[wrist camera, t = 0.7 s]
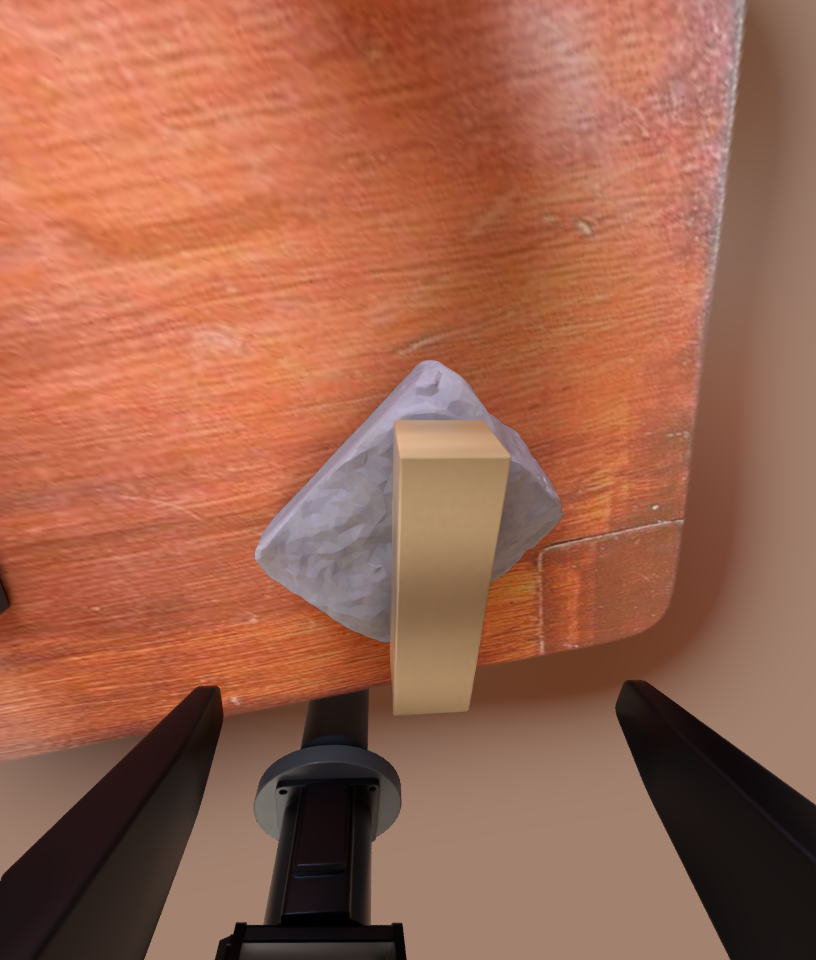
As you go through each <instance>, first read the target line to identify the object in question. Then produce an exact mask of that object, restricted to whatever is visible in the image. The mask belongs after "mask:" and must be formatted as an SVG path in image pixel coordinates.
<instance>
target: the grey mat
mask: <svg viewBox="0 0 816 960" xmlns="http://www.w3.org/2000/svg"><path fill="white" fill-rule="evenodd" d="M9 607H10V606H9V603H8V601H7V598H6V595H5V593H4V590H3V588H2V585H1V582H0V614H2V613H3V612H4V611H6V610H7V609H8V608H9Z"/></svg>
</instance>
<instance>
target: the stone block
mask: <svg viewBox="0 0 816 960" xmlns="http://www.w3.org/2000/svg"><path fill="white" fill-rule="evenodd" d="M395 420H483V421H484V422H485V423H486V424H487V426H488V427H489V428H490V430H491V431H492V432H493V433H494V435H495V436H496V437H497V439H498V440H499V441H500V442H501V444H502V445H503V446H504V448H505V449H506V450H507V451H508V453H509V454H510V455H511V464H510V470H509V475H508V481H507V487H506V493H505V499H504V505H503V511H502V517H501V523H500V529H499V535H498V541H497V547H496V552H495V558H494V564H493V570H492V576H491V582H492V581H494V580H496V579H498V578H499V577H500V576H501V575H503V574H504V573H506V572H508V571H509V570H510V569H511V567H512V566H513V565H515V564H516V563H517V562H518V561H519V560H520V559H521V557H522V556H523V554H524V553H525V551H527V550H528V549H530V548H534V547H535V546H536V545H537V544H538V543H539V542H540V541H541V540H542V539H543V538H544V537H545V536H546V535H547V534H548V533H549V532H550V531H551V530H552V529H553V528H554V527H555V526H556V525H557V524H558V523H559V521H560V519H561V518H562V517H563V512H562V503H561V501H560V499H559V497H558V495H557V494H556V490H555V488H554V486H553V485H552V483H551V481H550V480H549V478H548V477H547V475H546V474H545V473H544V471H543V470H542V468H541V467H540V465H539V463H538V461H537V460H536V459H535V458H534V457H533V456H532V455H531V453H530V451H529V448H528V446H527V445H526V443H525V442H524V441H523V440H522V439H521V437H520V435H519V433H518V432H516V431H515V430H513V429H512V428H510V427H508V426H507V425H505V424H503V423H502V422H500V421H499V419H498V418H496V417H495V416H493V415H491V414H489V413H488V412H487V410H486V408H485V407H484V405H483V404H482V403H481V401H480V400H479V399H478V397H477V396H476V394H475V392H474V390H473V388H472V387H471V386H470V385H469V384H468V383H467V382H466V381H465V380H464V379H463V378H462V377H461V375H459V374H457V373H455V372H454V371H453V370H451V369H449V368H448V367H446V366H444V365H443V364H442V363H440V362H438V361H433V360H426V361H422V362H420V363H419V364H418V365H416V366H415V367H414V369H413V370H412V371H411V372H410V373H409V374H408V375H407V376H406V377H405V378H404V379H403V380H402V381H401V382H400V384H399V385H398V386H397V387H396V388H395V389H394V390H393V391H392V392H391V393H390V394H389V396H388V397H387V398H386V399H385V400H384V401H383V402H382V403H381V404H380V405H379V406H378V407H377V408H376V409H375V410H374V412H373V413H372V414H371V415H370V416H369V417H368V418H367V419H366V420H365V421H364V422H363V424H362V425H361V426H360V427H359V428H358V429H357V430H356V431H355V432H354V433H353V434H352V435H351V436H350V437H349V438H348V439H347V440H346V441H345V442H344V443H343V445H342V446H341V447H340V448H339V449H338V450H337V451H336V452H335V453H334V454H333V455H332V456H331V457H330V458H329V460H328V461H327V462H326V463H325V464H324V465H323V466H322V467H321V469H320V470H319V471H318V472H317V473H316V474H315V475H314V476H313V477H312V478H311V479H310V480H309V482H308V483H307V484H306V485H305V486H304V487H303V488H302V489H301V490H300V491H299V492H298V493H297V494H296V495H295V496H294V497H293V498H292V499H291V500H290V502H288V503H287V504H286V505H285V506H284V507H283V509H282V510H281V511H280V512H279V513H278V514H277V515H276V516H275V517H274V519H273V520H272V521H271V522H270V524H269V525H268V527H267V528H266V529H265V531H264V532H263V534H262V535H261V539H260V542H259V544H258V546H257V548H256V550H255V559H256V561H257V563H258V564H259V565H260V567H261V568H262V569H263V570H264V571H265V572H266V574H267V575H268V576H269V577H270V578H271V579H273V580H274V581H276V582H278V583H281V584H282V585H283V586H284V587H286V588H287V589H288V590H289V591H291V592H293V593H295V594H297V595H299V596H301V597H302V598H304V599H305V600H306V601H307V602H309V603H310V604H312V605H314V606H315V607H317V608H318V609H320V610H321V611H322V612H324V613H326V614H327V615H329V616H330V617H331V618H333V619H334V620H335V621H337V622H339V623H340V624H341V625H343V626H345V627H346V628H348V629H350V630H352V631H354V632H357V633H360V634H362V635H365V636H366V637H369V638H372V639H375V640H377V641H380V642H384V643H387V642H390V614H391V557H392V499H393V441H394V421H395ZM491 582H490V585H491Z"/></svg>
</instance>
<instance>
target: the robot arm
mask: <svg viewBox="0 0 816 960" xmlns="http://www.w3.org/2000/svg"><path fill="white" fill-rule="evenodd" d="M615 709H616V715H617V718H618V721H619V723H620V726H621V728H622V731H623V733H624V736H625V738H626V741H627V743H628V745H629V748H630V751H631V753H632V756H633V758H634V761H635V763H636V766H637V768H638V771H639V773H640V776H641V778H642V781H643V783H644V785H645V788H646V790H647V792H648V794H649V796H650V799H651V801H652V803H653V805H654V807H655V809H656V811H657V813H658V815H659V817H660V819H661V821H662V823H663V825H664V827H665V829H666V831H667V833H668V835H669V837H670V839H671V841H672V843H673V845H674V847H675V849H676V851H677V853H678V855H679V857H680V859H681V861H682V863H683V865H684V867H685V869H686V871H687V874H688V876H689V878H690V880H691V882H692V884H693V885H694V888H695V890H696V892H697V893H698V896H699V898H700V900H701V902H702V904H703V906H704V908H705V910H706V912H707V914H708V916H709V918H710V920H711V922H712V924H713V926H714V928H715V930H716V932H717V934H718V936H719V938H720V940H721V942H722V944H723V946H724V948H725V950H726V952H727V954H728V956H729V958H730V960H816V805H815V804H814V803H812V802H811V801H810V800H808V799H807V798H805V797H804V796H803V795H801V794H800V793H798V792H797V791H796V790H794V789H793V788H792V787H790V786H789V785H788V784H786V783H785V782H783V781H782V780H781V779H779V778H778V777H777V776H775V775H774V774H773V773H771V772H770V771H768V770H767V769H766V768H764V767H763V766H761V765H760V764H759V763H757V762H756V761H755V760H753V759H752V758H751V757H749V756H748V755H746V754H745V753H744V752H742V751H741V750H740V749H738V748H737V747H735V746H734V745H733V744H731V743H730V742H729V741H727V740H726V739H724V738H723V737H721V736H720V735H719V734H718V733H716V732H715V731H713V730H712V729H711V728H709V727H708V726H707V725H705V724H704V723H703V722H701V721H699V720H698V719H697V718H696V717H694V716H693V715H691V714H690V713H689V712H687V711H686V710H685V709H683V708H682V707H681V706H679V705H678V704H676V703H675V702H674V701H672V700H671V699H670V698H668V697H667V696H666V695H664V694H663V693H661V692H660V691H658V690H657V689H656V688H655V687H653V686H652V685H650V684H649V683H648V682H646V681H643V680H627V681H625V682H624V684H623V686H622V689H621V691H620V694H619V697H618V699H617V703H616V707H615ZM222 723H223V706H222V699H221V692H220V688H219V687H218V686H199V687H197V688H195V689H194V690H193V691H192V692H191V693H190V694H189V695H188V696H187V697H186V698H185V699H184V700H183V701H182V702H181V703H180V704H179V705H178V706H177V707H175V708H174V709H173V710H172V711H171V712H170V713H169V714H168V715H167V716H166V717H165V718H164V719H163V720H162V721H161V722H160V723H159V724H158V725H157V726H156V727H155V728H154V729H153V730H152V731H151V732H150V733H149V734H148V735H147V736H146V737H144V738H143V739H142V740H141V741H140V742H139V743H138V744H137V745H136V746H135V747H134V748H133V749H132V750H131V751H130V752H129V753H128V754H127V755H126V756H125V757H124V758H123V759H122V760H121V761H120V762H119V763H118V764H117V765H116V766H115V767H114V768H112V770H110V771H109V772H108V773H107V774H106V775H105V776H104V777H103V778H102V779H101V780H100V781H99V782H98V783H97V784H96V785H95V786H94V787H93V788H92V789H91V790H90V791H89V792H88V793H87V794H86V795H85V796H84V797H83V798H82V799H80V800H79V801H78V802H77V803H76V804H75V805H74V806H73V807H72V808H71V809H70V810H69V811H68V812H67V813H66V814H65V815H64V816H63V817H62V818H61V819H60V820H59V821H58V822H57V823H56V824H55V825H54V826H53V827H52V828H51V829H49V831H47V832H46V833H45V834H44V835H43V836H42V837H41V838H40V839H39V840H38V841H37V842H36V843H35V844H34V845H33V846H32V847H31V848H30V849H29V850H28V851H27V852H26V853H25V854H24V855H23V856H22V857H21V858H20V859H19V860H18V861H17V862H15V863H14V864H13V865H12V866H11V867H10V868H9V869H8V870H7V871H6V872H5V873H4V874H3V876H2V877H1V881H0V960H144V958H145V956H146V953H147V950H148V947H149V945H150V942H151V939H152V937H153V934H154V931H155V929H156V926H157V923H158V921H159V918H160V915H161V912H162V910H163V907H164V904H165V902H166V899H167V896H168V894H169V891H170V888H171V886H172V883H173V880H174V877H175V875H176V872H177V869H178V867H179V864H180V861H181V859H182V855H183V853H184V850H185V847H186V845H187V842H188V840H189V837H190V834H191V832H192V829H193V826H194V823H195V820H196V817H197V815H198V811H199V808H200V805H201V801H202V798H203V794H204V791H205V787H206V783H207V779H208V776H209V772H210V768H211V765H212V761H213V757H214V754H215V750H216V746H217V742H218V739H219V735H220V731H221V727H222ZM379 794H380V780H379V779H378V778H375V777H365V778H333V779H300V780H281V781H279V782H278V783H277V786H276V790H275V797H276V810H277V823H278V836H279V843H278V848H277V854H276V859H275V865H274V870H273V875H272V881H271V886H270V892H269V897H268V903H267V908H266V913H265V919H264V924H263V925H247V923H246V922H242V923H241V922H237V923H236V925H235V930H234V934H231V935H230V936H229V937H226V938H224V939H222V940H220V942H219V945H218V949H217V954H216V958H215V960H407V959H406V951H405V942H404V933H403V925H402V923H392V924H391V925H371V842H373V841H374V840H375V839H376V830H377V818H378V806H379Z"/></svg>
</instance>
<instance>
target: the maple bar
mask: <svg viewBox="0 0 816 960" xmlns="http://www.w3.org/2000/svg"><path fill="white" fill-rule="evenodd" d="M510 464H511V455H510V454H509V453H508V451H507V450H506V449H505V448H504V446H503V445H502V444H501V442H500V441H499V440H498V439H497V437H496V436H495V435H494V433H493V432H492V431H491V430H490V428H489V427H488V426H487V424H486V423H485V422H484V421H483V420H395V421H394V441H393V499H392V557H391V614H390V664H391V684H392V703H393V715H395V716H402V715H416V714H432V713H449V712H465V711H469V705H470V700H471V694H472V688H473V683H474V676H475V671H476V665H477V659H478V653H479V647H480V641H481V635H482V629H483V623H484V618H485V612H486V606H487V600H488V594H489V588H490V582H491V576H492V570H493V564H494V558H495V552H496V547H497V541H498V535H499V529H500V523H501V517H502V511H503V505H504V499H505V493H506V487H507V481H508V475H509V470H510Z"/></svg>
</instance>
